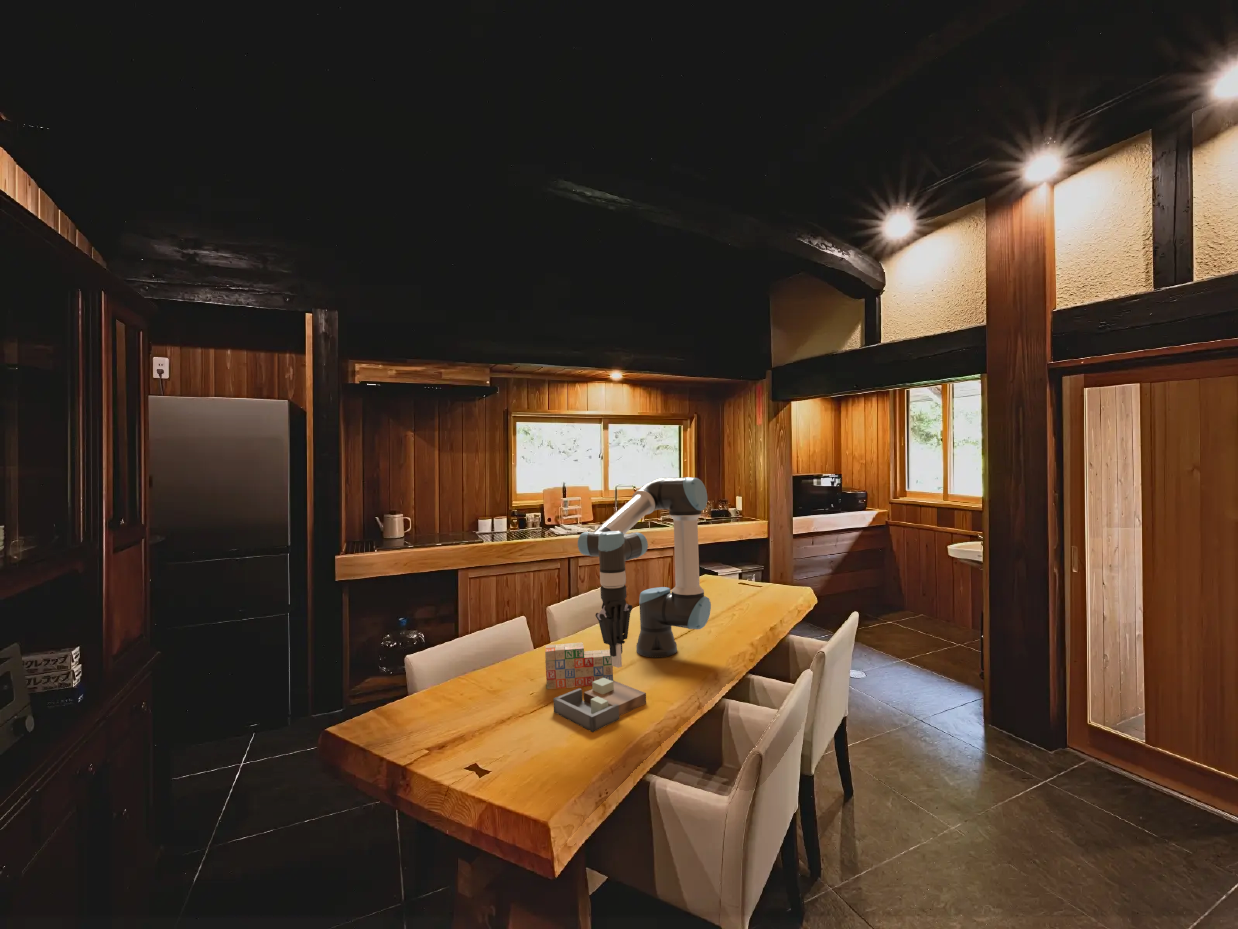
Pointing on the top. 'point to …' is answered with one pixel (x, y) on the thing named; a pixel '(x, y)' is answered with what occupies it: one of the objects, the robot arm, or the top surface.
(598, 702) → the tile
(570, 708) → the tray
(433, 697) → the top surface
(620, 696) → the board
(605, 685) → the tile
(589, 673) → the stack of blocks
